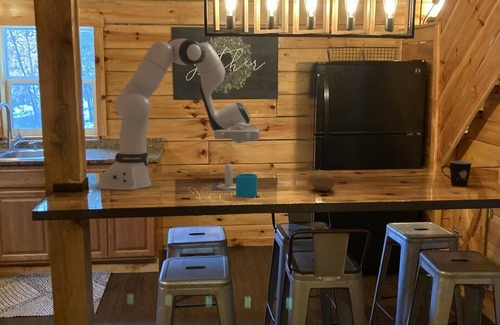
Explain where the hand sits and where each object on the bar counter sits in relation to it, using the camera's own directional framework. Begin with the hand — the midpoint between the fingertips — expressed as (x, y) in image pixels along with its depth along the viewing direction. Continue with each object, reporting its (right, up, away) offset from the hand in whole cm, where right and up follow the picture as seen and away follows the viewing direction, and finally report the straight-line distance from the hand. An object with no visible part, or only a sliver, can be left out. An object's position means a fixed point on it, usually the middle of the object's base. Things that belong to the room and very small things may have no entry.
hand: (234, 136), depth 228 cm
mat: (-2, -22, -9) cm, 24 cm away
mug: (+5, -24, -22) cm, 33 cm away
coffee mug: (+95, -21, -1) cm, 97 cm away
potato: (+36, -23, -14) cm, 45 cm away
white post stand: (-2, -22, -9) cm, 24 cm away
